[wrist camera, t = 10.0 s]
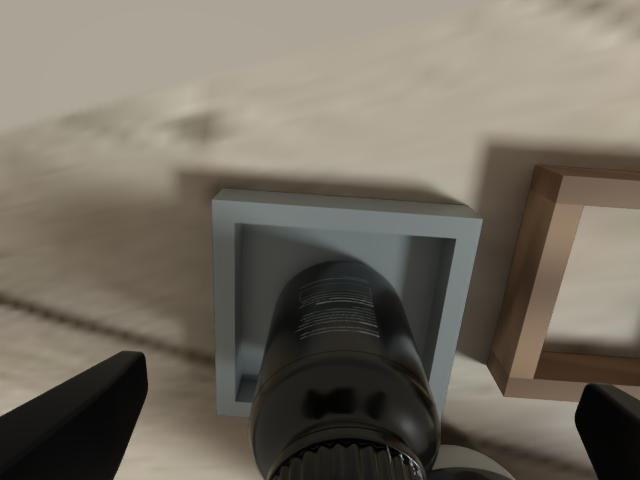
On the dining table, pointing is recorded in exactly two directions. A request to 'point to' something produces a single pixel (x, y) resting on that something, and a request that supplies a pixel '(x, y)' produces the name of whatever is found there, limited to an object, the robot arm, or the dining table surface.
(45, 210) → the dining table surface
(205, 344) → the dining table surface
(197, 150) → the dining table surface
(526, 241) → the walnut collar
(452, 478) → the grey egg shaped device
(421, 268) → the slate tray
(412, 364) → the supplement bottle
